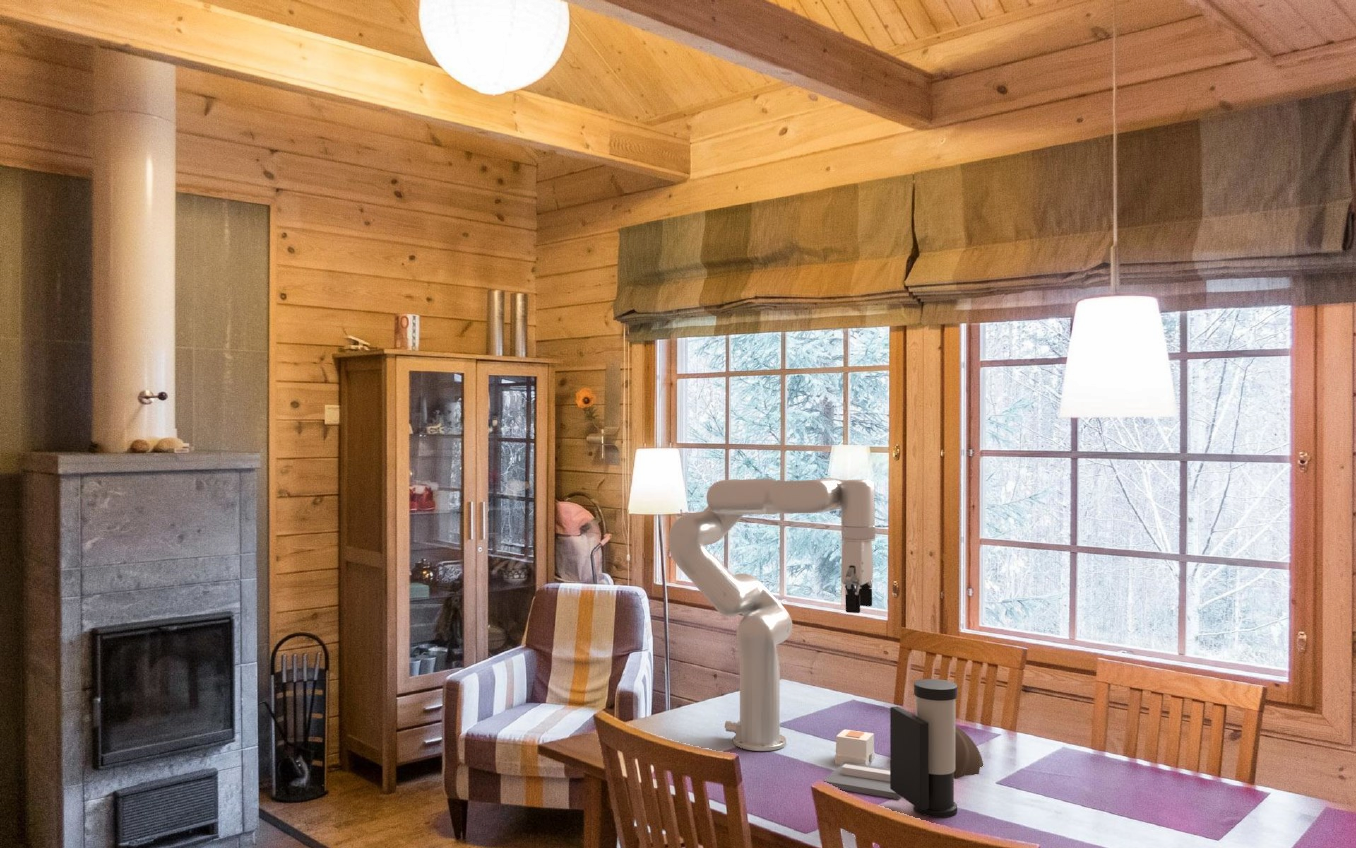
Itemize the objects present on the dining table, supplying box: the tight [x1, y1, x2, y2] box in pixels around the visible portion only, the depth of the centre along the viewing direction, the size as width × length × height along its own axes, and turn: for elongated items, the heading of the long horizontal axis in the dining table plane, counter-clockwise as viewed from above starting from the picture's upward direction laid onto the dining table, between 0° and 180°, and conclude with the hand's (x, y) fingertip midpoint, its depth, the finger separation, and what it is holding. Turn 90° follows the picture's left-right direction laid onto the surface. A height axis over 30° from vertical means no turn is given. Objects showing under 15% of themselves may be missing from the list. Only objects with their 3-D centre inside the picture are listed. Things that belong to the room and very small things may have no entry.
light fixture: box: [889, 678, 959, 818], centre depth 199 cm, size 12×11×25 cm
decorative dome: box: [954, 725, 984, 779], centre depth 227 cm, size 19×20×10 cm
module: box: [834, 729, 876, 765], centre depth 228 cm, size 7×7×6 cm
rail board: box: [823, 762, 902, 800], centre depth 215 cm, size 16×14×3 cm
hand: (859, 609), depth 230 cm, fingers open, 9 cm apart
